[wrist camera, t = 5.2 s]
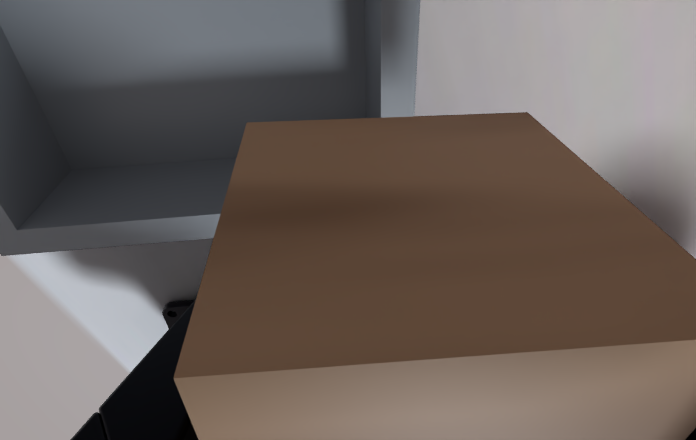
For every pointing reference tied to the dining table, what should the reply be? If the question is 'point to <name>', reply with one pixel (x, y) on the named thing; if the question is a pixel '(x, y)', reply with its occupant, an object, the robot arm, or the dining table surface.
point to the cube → (435, 291)
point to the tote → (172, 104)
